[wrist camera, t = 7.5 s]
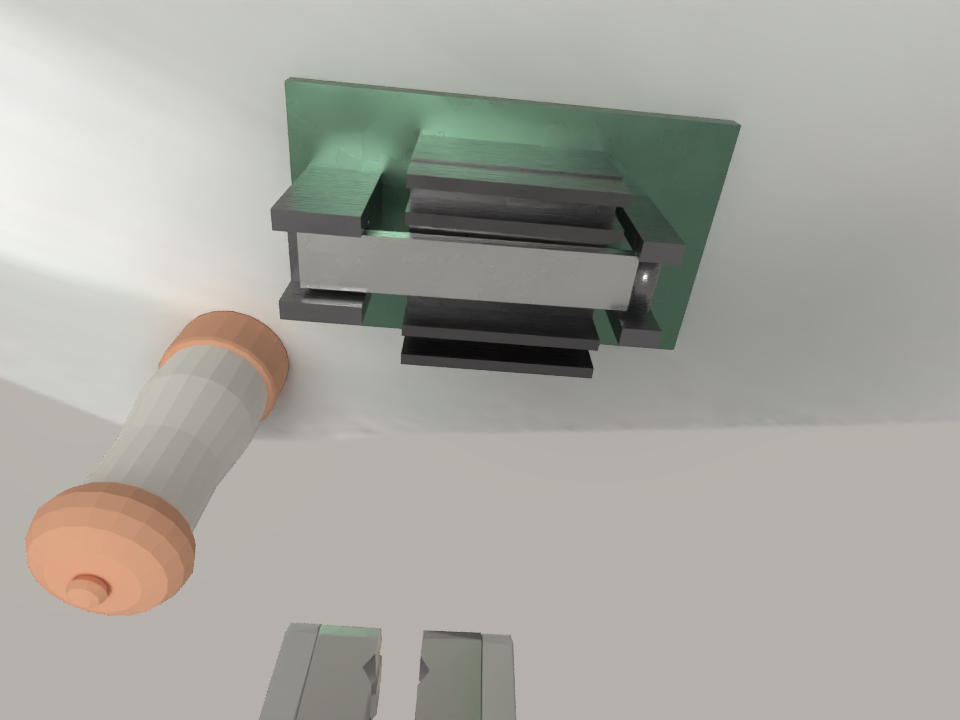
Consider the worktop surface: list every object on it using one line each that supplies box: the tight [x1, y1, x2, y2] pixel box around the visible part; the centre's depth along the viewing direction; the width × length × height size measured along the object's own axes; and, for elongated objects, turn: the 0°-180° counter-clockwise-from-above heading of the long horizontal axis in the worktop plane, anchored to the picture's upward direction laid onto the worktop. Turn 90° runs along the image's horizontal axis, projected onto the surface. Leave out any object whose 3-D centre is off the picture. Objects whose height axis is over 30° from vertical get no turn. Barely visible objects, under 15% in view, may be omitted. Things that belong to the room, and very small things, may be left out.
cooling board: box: [271, 77, 741, 378], centre depth 33 cm, size 24×14×9 cm, turn 85°
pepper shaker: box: [25, 311, 289, 615], centre depth 34 cm, size 7×7×19 cm
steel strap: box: [297, 229, 662, 314], centre depth 31 cm, size 18×3×1 cm, turn 85°
